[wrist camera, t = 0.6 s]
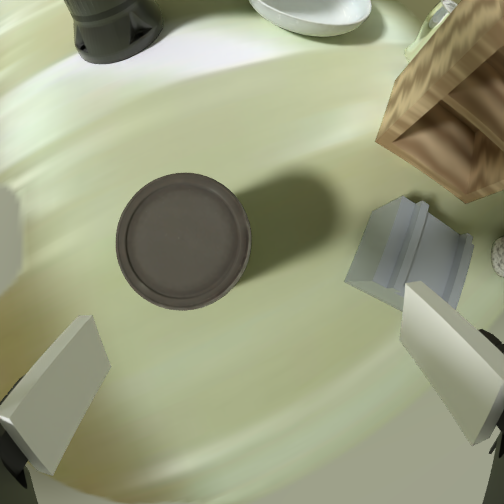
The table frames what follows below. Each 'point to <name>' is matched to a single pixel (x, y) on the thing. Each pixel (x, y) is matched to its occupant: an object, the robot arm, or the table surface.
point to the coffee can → (183, 241)
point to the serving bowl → (315, 15)
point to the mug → (498, 256)
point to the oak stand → (454, 103)
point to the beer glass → (430, 27)
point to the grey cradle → (409, 254)
